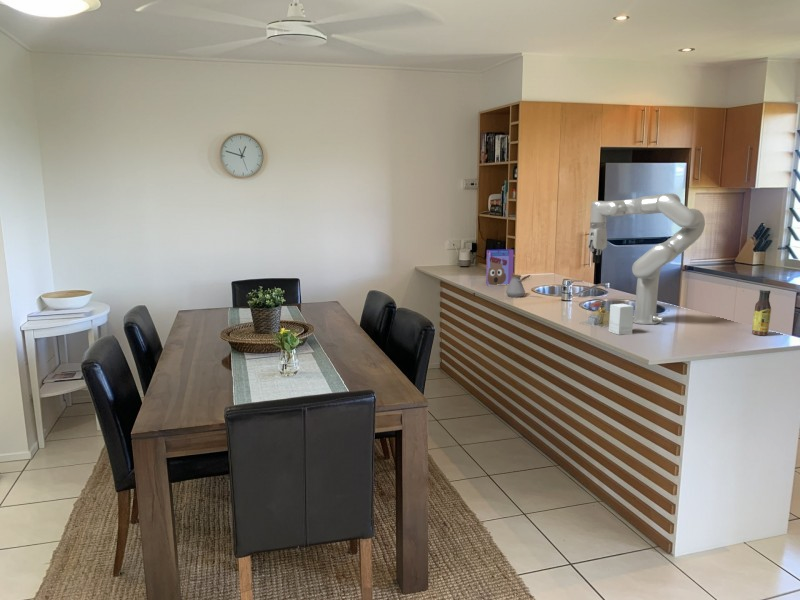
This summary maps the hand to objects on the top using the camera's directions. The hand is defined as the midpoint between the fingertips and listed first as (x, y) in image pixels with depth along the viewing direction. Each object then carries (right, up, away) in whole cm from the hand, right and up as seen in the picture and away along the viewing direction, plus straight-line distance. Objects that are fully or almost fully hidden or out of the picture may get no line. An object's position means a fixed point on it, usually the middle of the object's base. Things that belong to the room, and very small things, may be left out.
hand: (596, 262), depth 302 cm
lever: (-5, -23, -17) cm, 29 cm away
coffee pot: (-27, -18, +57) cm, 66 cm away
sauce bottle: (+60, -34, -37) cm, 78 cm away
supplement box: (0, -34, -32) cm, 47 cm away
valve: (-1, -30, -12) cm, 32 cm away
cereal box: (-31, -9, +107) cm, 111 cm away
